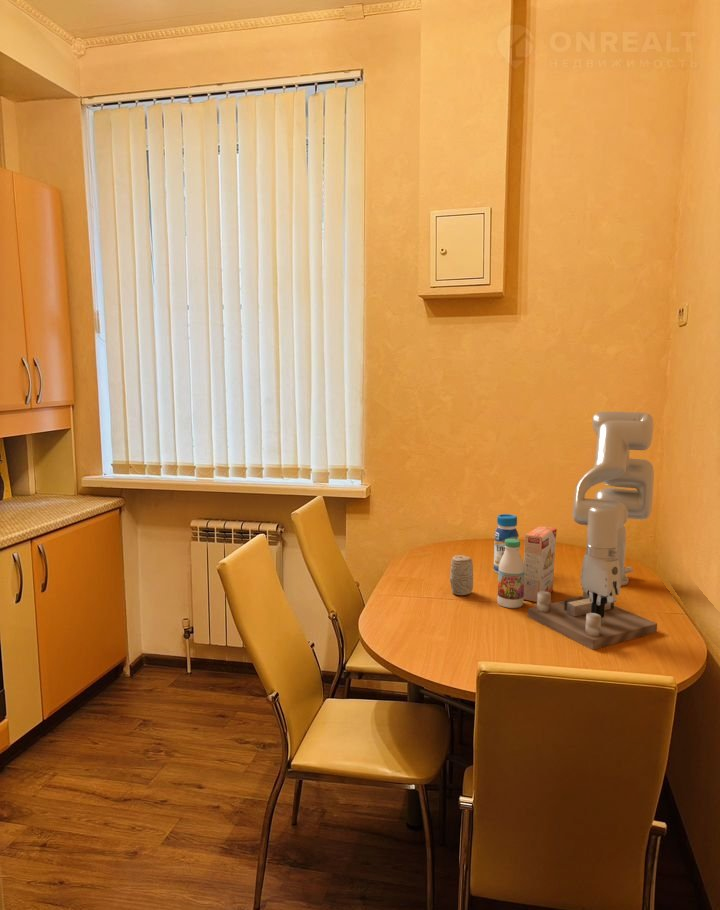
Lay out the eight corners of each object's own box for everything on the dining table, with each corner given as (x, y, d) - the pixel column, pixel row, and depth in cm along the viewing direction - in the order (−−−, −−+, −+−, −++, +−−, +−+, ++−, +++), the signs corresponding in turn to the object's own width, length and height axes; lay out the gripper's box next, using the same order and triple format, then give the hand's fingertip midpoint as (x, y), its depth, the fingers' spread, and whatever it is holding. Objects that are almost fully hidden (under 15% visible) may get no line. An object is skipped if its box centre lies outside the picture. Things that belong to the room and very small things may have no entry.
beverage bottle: (516, 568, 224) (518, 513, 221) (518, 576, 216) (520, 519, 213) (492, 567, 225) (494, 512, 223) (493, 574, 217) (495, 518, 214)
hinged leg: (607, 604, 183) (608, 589, 182) (616, 608, 180) (617, 593, 179) (566, 612, 176) (567, 597, 176) (574, 616, 173) (575, 601, 173)
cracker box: (540, 604, 190) (543, 537, 187) (521, 599, 194) (523, 534, 191) (554, 590, 202) (557, 527, 199) (536, 587, 205) (538, 524, 202)
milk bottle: (493, 599, 193) (496, 537, 191) (518, 599, 194) (520, 536, 191) (501, 609, 186) (504, 544, 183) (526, 608, 186) (529, 543, 184)
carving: (445, 591, 200) (446, 555, 199) (466, 588, 203) (467, 553, 201) (455, 598, 194) (456, 561, 193) (476, 595, 197) (477, 558, 195)
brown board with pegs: (588, 603, 191) (589, 579, 190) (656, 632, 170) (658, 605, 169) (527, 616, 180) (528, 591, 179) (592, 649, 159) (594, 621, 158)
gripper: (634, 557, 162) (629, 624, 165) (590, 543, 175) (586, 605, 178) (613, 561, 159) (609, 629, 161) (570, 546, 172) (566, 610, 175)
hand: (597, 617), depth 170 cm, fingers closed
